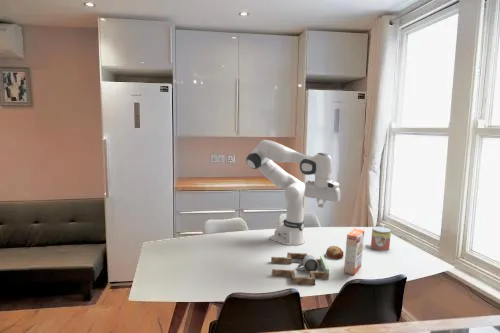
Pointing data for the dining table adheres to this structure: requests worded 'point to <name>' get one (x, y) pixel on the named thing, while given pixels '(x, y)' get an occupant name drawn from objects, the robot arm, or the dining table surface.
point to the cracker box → (353, 251)
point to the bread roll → (334, 252)
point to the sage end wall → (324, 265)
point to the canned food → (380, 238)
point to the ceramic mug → (309, 264)
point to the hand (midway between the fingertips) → (321, 207)
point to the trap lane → (290, 273)
